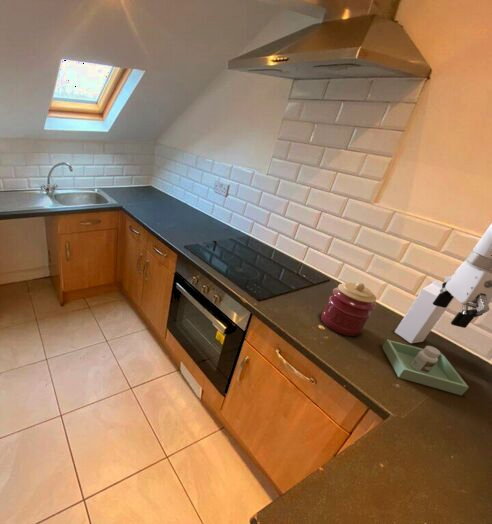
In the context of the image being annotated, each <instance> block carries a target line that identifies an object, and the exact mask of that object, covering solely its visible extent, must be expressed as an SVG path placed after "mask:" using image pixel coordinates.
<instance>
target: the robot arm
mask: <svg viewBox="0 0 492 524" xmlns="http://www.w3.org/2000/svg"><path fill="white" fill-rule="evenodd" d="M491 255H492V222H491V223H490V225H488V227H487V229H486V231H485V232H484V233H483V234H482V236H481V237H480V239H479V240H478V242H477V243H476V244H475V246H474V247H473V249H472V250H471V252H469V254H468V256H467V257H466V259H465V260H464V261H463V262H462V263H461V264H460V265H459V267H457V268H456V270H455V271H454V272H453V274H452V275H446V276H445V277H444V281H443V283H442V289H441V290H440V294H439V295H438V296H437V298H436V299H435V301H434V302H433V305H435V306H439V307H444V308H446V307H447V306H448V304H449V303H450V301H451V300H452V299H453V296H454V297H455V298H454V299H456V300H457V301H458V303H460V305H461V304H462V306H461V311H458V312H457V313H456V314H455V316H454V318H452V320H451V321H450V325H451V326H455V327H459V328H462V329H465V328H467V327H468V325H469V324H470V323H471V322H472V321H473V319H474V318H478V317H481V316H483V315H484V314H486V313H488V312H489V311H490V310H491V309H490V305H489V304H490V303H491V302H492V256H491ZM451 295H452V296H451ZM454 299H453V300H454ZM450 304H451V303H450ZM448 307H449V306H448ZM469 308H471V309H469Z"/></svg>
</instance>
